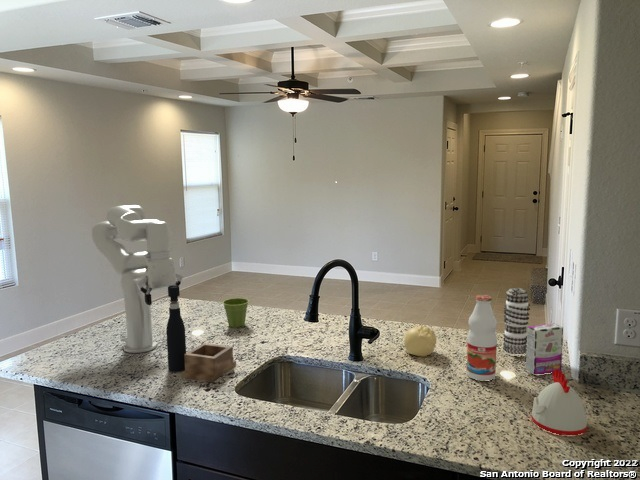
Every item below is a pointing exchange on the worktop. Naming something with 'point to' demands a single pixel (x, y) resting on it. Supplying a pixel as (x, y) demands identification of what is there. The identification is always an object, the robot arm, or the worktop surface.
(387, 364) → the worktop surface
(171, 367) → the black water bottle
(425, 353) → the pale yellow round lump
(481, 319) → the fruit juice
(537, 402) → the white and red dome
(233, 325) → the plant pot
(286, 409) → the worktop surface
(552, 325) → the candy bar box
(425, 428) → the worktop surface
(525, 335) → the decorative candle
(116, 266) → the robot arm
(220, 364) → the bottle stand
